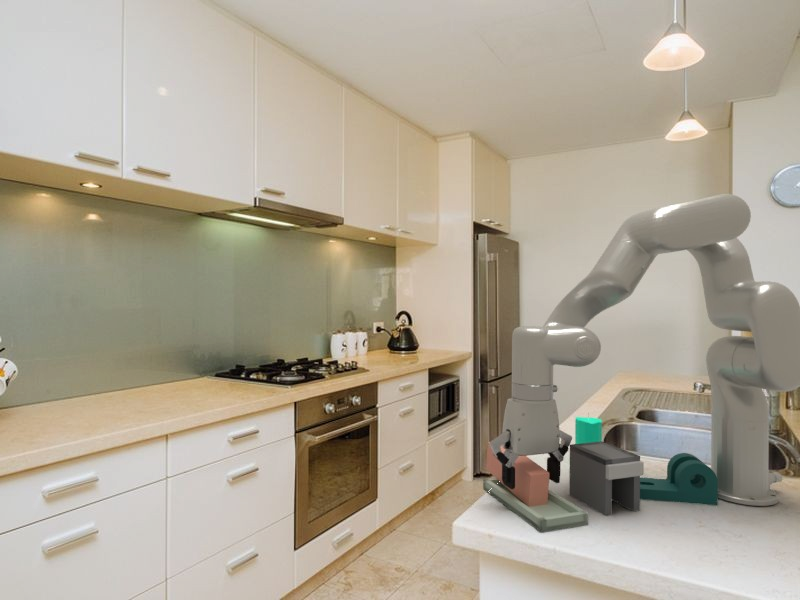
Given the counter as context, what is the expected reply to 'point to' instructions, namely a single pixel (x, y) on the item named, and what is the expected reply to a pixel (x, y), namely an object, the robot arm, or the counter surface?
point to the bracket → (683, 482)
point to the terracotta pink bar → (523, 478)
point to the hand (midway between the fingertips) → (531, 483)
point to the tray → (539, 508)
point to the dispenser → (605, 476)
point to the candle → (588, 430)
